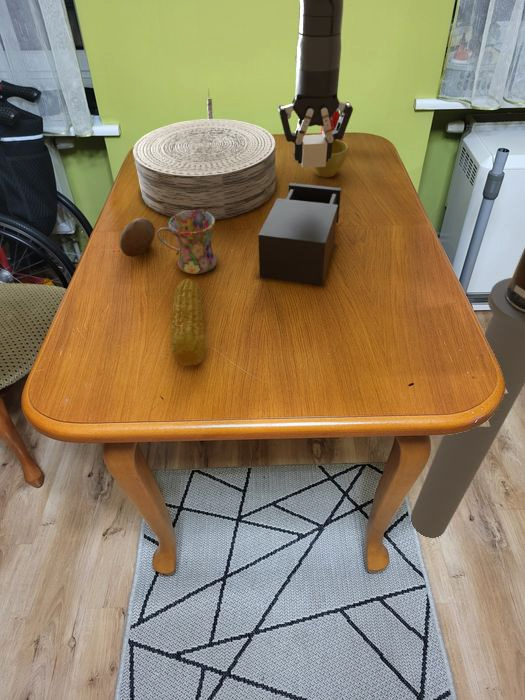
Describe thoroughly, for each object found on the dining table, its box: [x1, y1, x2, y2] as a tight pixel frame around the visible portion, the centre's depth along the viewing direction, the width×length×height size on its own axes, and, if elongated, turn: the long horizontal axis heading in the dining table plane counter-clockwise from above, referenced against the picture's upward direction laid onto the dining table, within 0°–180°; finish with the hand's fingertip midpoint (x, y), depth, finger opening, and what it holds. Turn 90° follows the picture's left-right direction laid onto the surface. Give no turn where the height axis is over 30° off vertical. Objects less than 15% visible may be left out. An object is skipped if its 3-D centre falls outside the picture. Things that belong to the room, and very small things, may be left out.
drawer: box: [285, 182, 342, 224], centre depth 104 cm, size 18×11×8 cm, turn 165°
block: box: [300, 133, 327, 169], centre depth 93 cm, size 4×4×4 cm
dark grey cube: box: [257, 198, 338, 287], centre depth 96 cm, size 15×13×10 cm
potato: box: [119, 217, 156, 257], centre depth 101 cm, size 7×12×7 cm, turn 175°
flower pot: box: [312, 140, 349, 178], centre depth 126 cm, size 10×10×7 cm
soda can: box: [320, 109, 344, 142], centre depth 134 cm, size 6×6×12 cm
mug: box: [156, 210, 218, 275], centre depth 96 cm, size 11×9×10 cm
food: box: [170, 278, 207, 368], centre depth 83 cm, size 21×6×6 cm, turn 9°
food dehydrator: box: [132, 88, 276, 220], centre depth 119 cm, size 38×34×18 cm
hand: (312, 160), depth 94 cm, fingers closed on block, 4 cm apart
